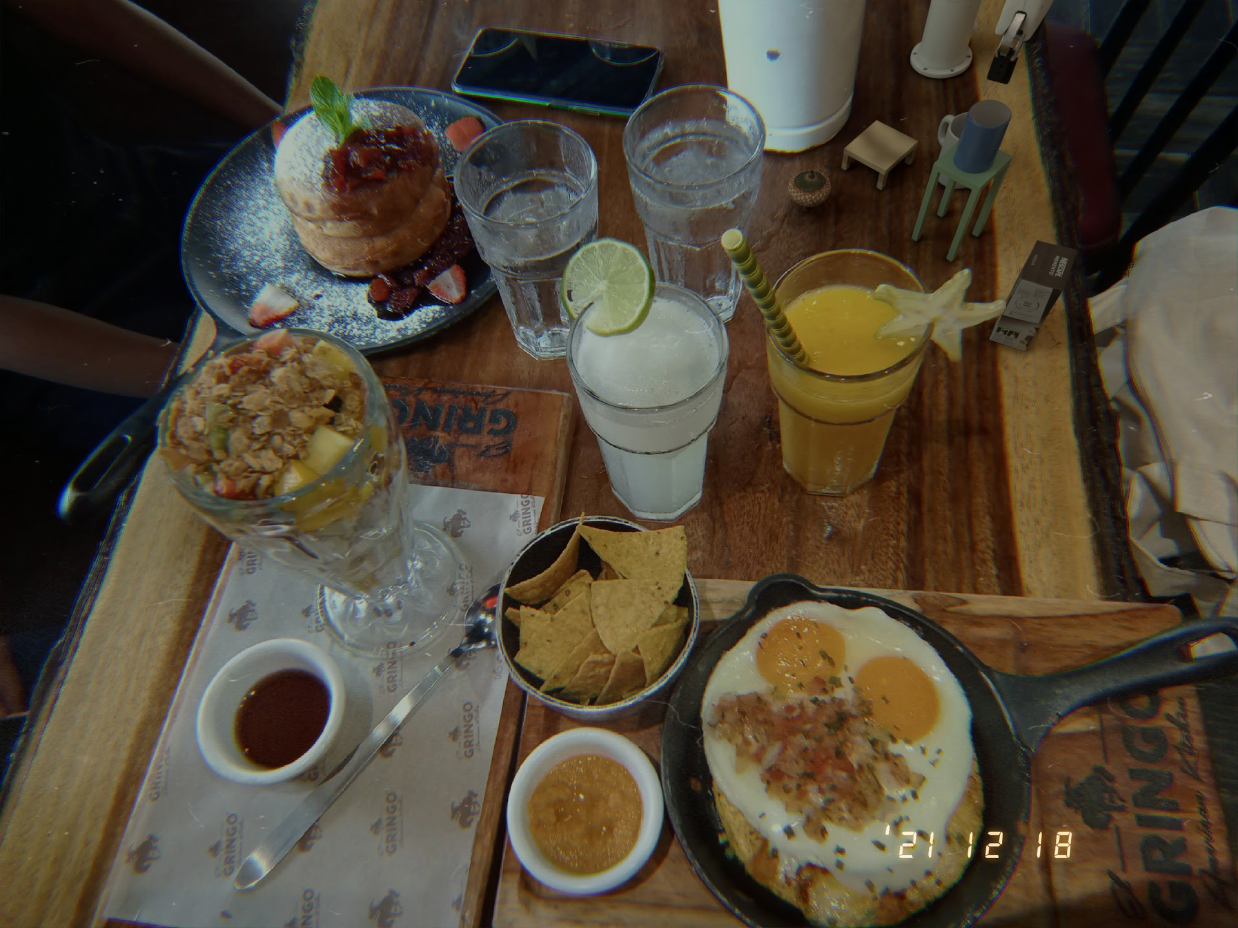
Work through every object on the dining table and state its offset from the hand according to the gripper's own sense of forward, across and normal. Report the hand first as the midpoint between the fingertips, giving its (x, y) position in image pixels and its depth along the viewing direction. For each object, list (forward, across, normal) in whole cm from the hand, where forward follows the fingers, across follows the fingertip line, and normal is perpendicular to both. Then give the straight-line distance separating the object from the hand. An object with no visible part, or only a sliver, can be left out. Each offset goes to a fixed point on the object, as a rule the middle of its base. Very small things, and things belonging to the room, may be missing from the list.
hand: (1010, 60), depth 109 cm
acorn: (+35, +8, -26) cm, 44 cm away
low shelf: (+34, -9, -19) cm, 41 cm away
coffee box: (+35, +16, +19) cm, 43 cm away
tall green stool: (+34, +2, 0) cm, 35 cm away
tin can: (+16, +2, 0) cm, 17 cm away
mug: (+35, -14, -6) cm, 38 cm away
